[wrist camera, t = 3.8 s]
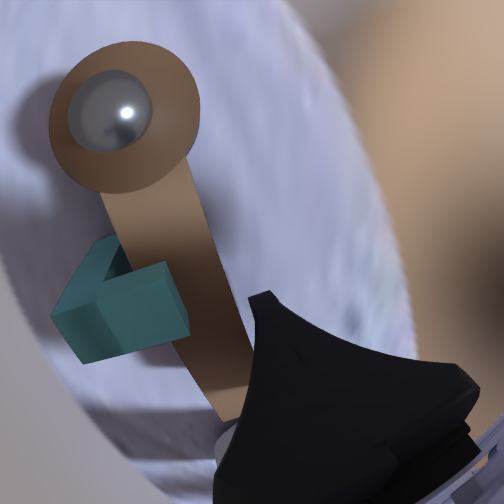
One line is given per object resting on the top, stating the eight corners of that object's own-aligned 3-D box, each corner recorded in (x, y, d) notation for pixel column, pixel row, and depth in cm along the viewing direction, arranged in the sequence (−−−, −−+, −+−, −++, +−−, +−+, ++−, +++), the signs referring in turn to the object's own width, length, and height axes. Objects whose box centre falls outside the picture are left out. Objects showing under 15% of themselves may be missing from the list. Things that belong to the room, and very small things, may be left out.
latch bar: (74, 95, 6) (35, 81, 4) (177, 54, 6) (178, 21, 4) (200, 383, 11) (209, 432, 9) (271, 358, 12) (292, 405, 9)
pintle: (211, 158, 9) (241, 178, 5) (105, 195, 8) (52, 246, 4) (183, 54, 7) (191, -10, 3) (75, 93, 7) (3, 69, 3)
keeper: (182, 252, 10) (190, 335, 6) (111, 276, 9) (83, 364, 5) (168, 214, 9) (164, 278, 5) (95, 241, 9) (50, 316, 5)
